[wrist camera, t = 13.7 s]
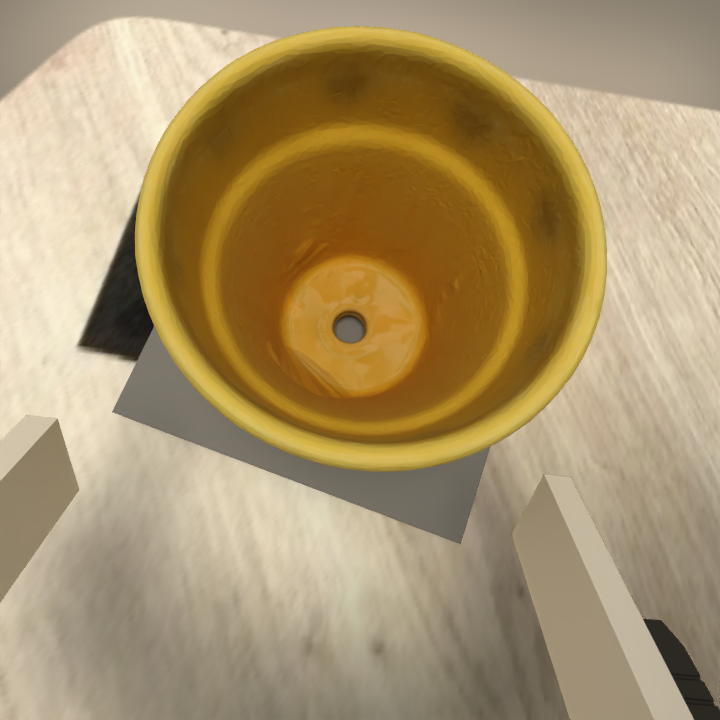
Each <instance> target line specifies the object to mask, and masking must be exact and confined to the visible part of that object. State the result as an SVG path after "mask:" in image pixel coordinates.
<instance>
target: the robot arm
mask: <svg viewBox="0 0 720 720" xmlns="http://www.w3.org/2000/svg"><path fill="white" fill-rule="evenodd" d="M78 491H79V487H78V484H77V481H76V477H75V474H74V471H73V468H72V464H71V461H70V458H69V455H68V451H67V448H66V445H65V442H64V438H63V435H62V432H61V429H60V425H59V422H58V419H57V418H49V417H40V416H31V415H26V416H25V417H24V418H23V419H22V420H21V421H20V422H19V423H18V424H17V425H16V426H15V427H14V428H13V429H12V430H11V431H10V432H9V433H8V434H7V435H6V436H5V437H4V438H3V439H2V440H1V441H0V602H1V601H2V599H3V598H4V596H5V595H6V593H7V592H8V591H9V589H10V588H11V586H12V585H13V583H14V582H15V581H16V579H17V578H18V576H19V575H20V573H21V572H22V571H23V569H24V568H25V566H26V565H27V563H28V562H29V561H30V559H31V558H32V556H33V555H34V553H35V552H36V551H37V549H38V548H39V546H40V545H41V543H42V542H43V541H44V539H45V538H46V536H47V535H48V533H49V532H50V531H51V529H52V528H53V526H54V525H55V523H56V522H57V521H58V519H59V518H60V516H61V515H62V514H63V512H64V511H65V509H66V508H67V506H68V505H69V504H70V502H71V501H72V499H73V498H74V496H75V495H76V494H77V492H78ZM512 538H513V541H514V544H515V548H516V551H517V554H518V557H519V560H520V563H521V566H522V570H523V573H524V576H525V579H526V582H527V585H528V589H529V592H530V595H531V598H532V601H533V604H534V608H535V611H536V614H537V617H538V620H539V623H540V627H541V630H542V633H543V636H544V639H545V642H546V645H547V649H548V652H549V655H550V658H551V661H552V664H553V668H554V671H555V674H556V677H557V680H558V683H559V687H560V690H561V693H562V696H563V699H564V702H565V705H566V709H567V712H568V715H569V718H570V720H720V710H719V708H718V707H717V706H715V705H714V703H713V701H714V700H713V698H712V696H711V694H710V692H709V691H708V689H707V687H706V685H705V683H704V682H703V681H701V680H700V674H699V673H698V671H697V669H696V667H695V665H694V664H693V662H692V660H691V658H690V656H689V655H688V653H687V651H686V649H685V648H684V646H683V645H682V644H681V643H680V641H679V640H678V639H677V638H676V637H675V636H674V635H673V633H672V632H671V631H670V630H669V629H668V628H667V627H666V625H665V624H664V623H663V622H662V621H661V620H650V619H642V617H641V615H640V613H639V611H638V609H637V607H636V605H635V603H634V601H633V599H632V597H631V595H630V593H629V591H628V589H627V587H626V585H625V583H624V581H623V579H622V577H621V575H620V573H619V572H618V570H617V568H616V566H615V564H614V562H613V560H612V558H611V556H610V554H609V552H608V550H607V548H606V546H605V544H604V542H603V540H602V538H601V536H600V534H599V532H598V530H597V528H596V526H595V524H594V523H593V521H592V519H591V517H590V515H589V513H588V511H587V509H586V507H585V505H584V503H583V501H582V499H581V497H580V495H579V493H578V491H577V489H576V487H575V485H574V483H573V481H572V479H571V477H564V476H555V475H546V474H544V475H543V477H542V479H541V481H540V483H539V485H538V487H537V488H536V490H535V492H534V494H533V496H532V498H531V499H530V501H529V503H528V505H527V507H526V509H525V511H524V512H523V514H522V516H521V518H520V520H519V522H518V524H517V525H516V527H515V529H514V531H513V533H512Z"/></svg>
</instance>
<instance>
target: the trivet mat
mask: <svg viewBox="0 0 720 720" xmlns="http://www.w3.org/2000/svg"><path fill="white" fill-rule="evenodd" d="M334 330H335V334H336V336H337V337H338V338H339V339H340V340H342V341H344V342H348V343H354V342H357V341H359V340H360V339H361V338H362V337H363V335H364V331H365V329H364V325H363V323H362V322H361V321H360V320H359V319H358V318H357V317H355V316H351V315H348V316H343V317H341V318H340V319H339V320H337V322H336V324H335V327H334ZM112 412H114V413H116V414H119V415H122V416H124V417H127V418H129V419H132V420H135V421H137V422H140V423H143V424H145V425H148V426H151V427H153V428H156V429H159V430H161V431H164V432H166V433H169V434H172V435H174V436H177V437H180V438H182V439H185V440H188V441H190V442H193V443H195V444H198V445H201V446H203V447H206V448H209V449H211V450H214V451H217V452H219V453H222V454H224V455H227V456H230V457H232V458H235V459H238V460H240V461H243V462H246V463H248V464H251V465H254V466H256V467H259V468H261V469H264V470H267V471H269V472H272V473H275V474H277V475H280V476H283V477H285V478H288V479H290V480H293V481H296V482H298V483H301V484H304V485H306V486H309V487H312V488H314V489H317V490H319V491H322V492H325V493H327V494H330V495H333V496H335V497H338V498H341V499H343V500H346V501H348V502H351V503H354V504H356V505H359V506H362V507H364V508H367V509H370V510H372V511H375V512H378V513H380V514H383V515H385V516H388V517H391V518H393V519H396V520H399V521H401V522H404V523H407V524H409V525H412V526H414V527H417V528H420V529H422V530H425V531H428V532H430V533H433V534H436V535H438V536H441V537H443V538H446V539H449V540H451V541H454V542H457V543H459V544H461V541H462V537H463V534H464V531H465V527H466V524H467V521H468V518H469V514H470V511H471V508H472V504H473V501H474V498H475V495H476V491H477V488H478V485H479V481H480V478H481V475H482V472H483V468H484V465H485V462H486V458H487V455H488V452H489V448H490V447H488V448H486V449H484V450H482V451H480V452H477V453H475V454H472V455H470V456H468V457H465V458H462V459H459V460H456V461H453V462H449V463H446V464H442V465H437V466H433V467H429V468H422V469H416V470H409V471H394V472H372V471H360V470H350V469H343V468H337V467H332V466H326V465H323V464H319V463H315V462H312V461H309V460H306V459H303V458H300V457H297V456H294V455H292V454H289V453H287V452H284V451H282V450H280V449H278V448H276V447H274V446H271V445H269V444H267V443H265V442H263V441H261V440H259V439H258V438H256V437H254V436H253V435H251V434H250V433H248V432H246V431H245V430H243V429H242V428H240V427H239V426H237V425H235V424H234V423H233V422H231V421H230V420H229V419H227V418H226V417H225V416H224V415H222V414H221V413H220V412H219V411H218V410H217V409H215V408H214V407H213V406H212V405H211V404H210V403H209V402H208V401H207V400H206V399H205V398H204V397H202V396H201V395H200V393H199V392H198V391H197V390H196V389H195V388H194V387H193V386H192V385H191V383H190V382H189V381H188V379H187V378H186V377H185V376H184V374H183V373H182V372H181V370H180V369H179V368H178V366H177V365H176V364H175V362H174V361H173V359H172V358H171V356H170V354H169V353H168V351H167V349H166V348H165V346H164V344H163V343H162V341H161V339H160V337H159V335H158V332H157V330H156V328H155V326H154V328H153V330H152V332H151V334H150V336H149V338H148V340H147V342H146V344H145V346H144V348H143V350H142V353H141V355H140V357H139V359H138V361H137V363H136V365H135V367H134V369H133V371H132V373H131V375H130V377H129V379H128V381H127V383H126V385H125V387H124V389H123V391H122V393H121V395H120V397H119V399H118V401H117V403H116V405H115V407H114V409H113V411H112Z"/></svg>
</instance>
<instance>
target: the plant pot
mask: <svg viewBox="0 0 720 720" xmlns="http://www.w3.org/2000/svg"><path fill="white" fill-rule="evenodd" d="M135 254H136V262H137V269H138V275H139V279H140V284H141V288H142V293H143V297H144V300H145V303H146V306H147V309H148V311H149V314H150V317H151V319H152V321H153V323H154V326H155V328H156V330H157V332H158V335H159V337H160V339H161V341H162V343H163V344H164V346H165V348H166V349H167V351H168V353H169V354H170V356H171V358H172V359H173V361H174V362H175V364H176V365H177V366H178V368H179V369H180V370H181V372H182V373H183V374H184V376H185V377H186V378H187V379H188V381H189V382H190V383H191V385H192V386H193V387H194V388H195V389H196V390H197V391H198V392H199V393H200V395H201V396H202V397H204V398H205V399H206V400H207V401H208V402H209V403H210V404H211V405H212V406H213V407H214V408H215V409H217V410H218V411H219V412H220V413H221V414H222V415H224V416H225V417H226V418H227V419H229V420H230V421H231V422H233V423H234V424H235V425H237V426H239V427H240V428H242V429H243V430H245V431H246V432H248V433H250V434H251V435H253V436H254V437H256V438H258V439H259V440H261V441H263V442H265V443H267V444H269V445H271V446H274V447H276V448H278V449H280V450H282V451H284V452H287V453H289V454H292V455H294V456H297V457H300V458H303V459H306V460H309V461H312V462H315V463H319V464H323V465H326V466H332V467H337V468H343V469H350V470H360V471H372V472H394V471H409V470H416V469H422V468H429V467H433V466H437V465H442V464H446V463H449V462H453V461H456V460H459V459H462V458H465V457H468V456H470V455H472V454H475V453H477V452H480V451H482V450H484V449H486V448H488V447H490V446H492V445H494V444H496V443H497V442H499V441H501V440H503V439H504V438H506V437H508V436H510V435H511V434H512V433H514V432H515V431H517V430H518V429H520V428H521V427H522V426H524V425H525V424H527V423H528V422H529V421H531V420H532V419H533V418H534V417H535V416H536V415H537V414H538V413H539V412H540V411H542V410H543V409H544V408H545V407H546V406H547V405H548V404H549V403H550V402H551V400H552V399H553V398H554V397H555V396H556V395H557V394H558V393H559V392H560V390H561V389H562V388H563V386H564V385H565V384H566V382H567V381H568V380H569V379H570V378H571V376H572V375H573V373H574V372H575V370H576V368H577V367H578V365H579V363H580V361H581V360H582V358H583V356H584V354H585V352H586V350H587V348H588V346H589V343H590V341H591V339H592V337H593V334H594V332H595V329H596V326H597V323H598V320H599V316H600V312H601V308H602V303H603V299H604V293H605V284H606V276H607V246H606V235H605V228H604V221H603V216H602V211H601V206H600V203H599V199H598V196H597V193H596V190H595V187H594V185H593V182H592V179H591V176H590V174H589V171H588V169H587V167H586V165H585V163H584V161H583V159H582V158H581V156H580V154H579V152H578V150H577V148H576V147H575V145H574V143H573V142H572V140H571V139H570V137H569V136H568V134H567V133H566V131H565V130H564V129H563V127H562V126H561V125H560V123H559V122H558V121H557V119H556V118H555V117H554V116H553V114H552V113H551V112H550V111H549V110H548V109H547V108H546V107H545V106H544V105H543V104H542V103H541V102H540V101H539V100H538V99H537V98H536V97H535V96H534V95H533V94H532V93H531V92H530V91H529V90H527V89H526V88H525V87H524V86H523V85H521V84H520V83H519V82H518V81H516V80H515V79H514V78H512V77H511V76H510V75H508V74H507V73H506V72H504V71H503V70H501V69H499V68H498V67H496V66H495V65H493V64H491V63H490V62H488V61H486V60H485V59H483V58H480V57H479V56H477V55H475V54H473V53H471V52H469V51H467V50H464V49H462V48H460V47H458V46H455V45H453V44H450V43H448V42H445V41H442V40H439V39H436V38H433V37H430V36H427V35H424V34H420V33H415V32H409V31H404V30H397V29H390V28H382V27H360V26H354V27H353V26H352V27H335V28H327V29H320V30H314V31H310V32H305V33H301V34H296V35H293V36H289V37H286V38H282V39H279V40H276V41H273V42H271V43H269V44H266V45H264V46H262V47H259V48H257V49H254V50H253V51H251V52H249V53H247V54H245V55H243V56H242V57H240V58H238V59H236V60H235V61H233V62H232V63H230V64H229V65H227V66H226V67H224V68H223V69H222V70H220V71H219V72H218V73H216V74H215V75H214V76H213V77H212V78H211V79H209V80H208V81H207V82H206V83H205V84H204V85H203V86H201V87H200V88H199V89H198V90H197V91H196V92H195V94H194V95H193V96H192V97H191V98H190V99H189V100H188V101H187V102H186V104H185V105H184V106H183V107H182V109H181V110H180V111H179V112H178V114H177V115H176V116H175V118H174V119H173V120H172V122H171V123H170V124H169V126H168V128H167V129H166V131H165V132H164V134H163V136H162V138H161V139H160V141H159V143H158V145H157V147H156V149H155V152H154V154H153V156H152V158H151V161H150V163H149V166H148V169H147V172H146V174H145V177H144V181H143V185H142V189H141V193H140V197H139V203H138V209H137V216H136V227H135ZM348 315H351V316H355V317H357V318H358V319H359V320H360V321H361V322H362V323H363V325H364V329H365V331H364V335H363V337H362V338H361V339H360V340H359V341H357V342H354V343H348V342H344V341H342V340H340V339H339V338H338V337H337V336H336V334H335V330H334V327H335V324H336V322H337V320H339V319H340V318H341V317H343V316H348Z"/></svg>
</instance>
